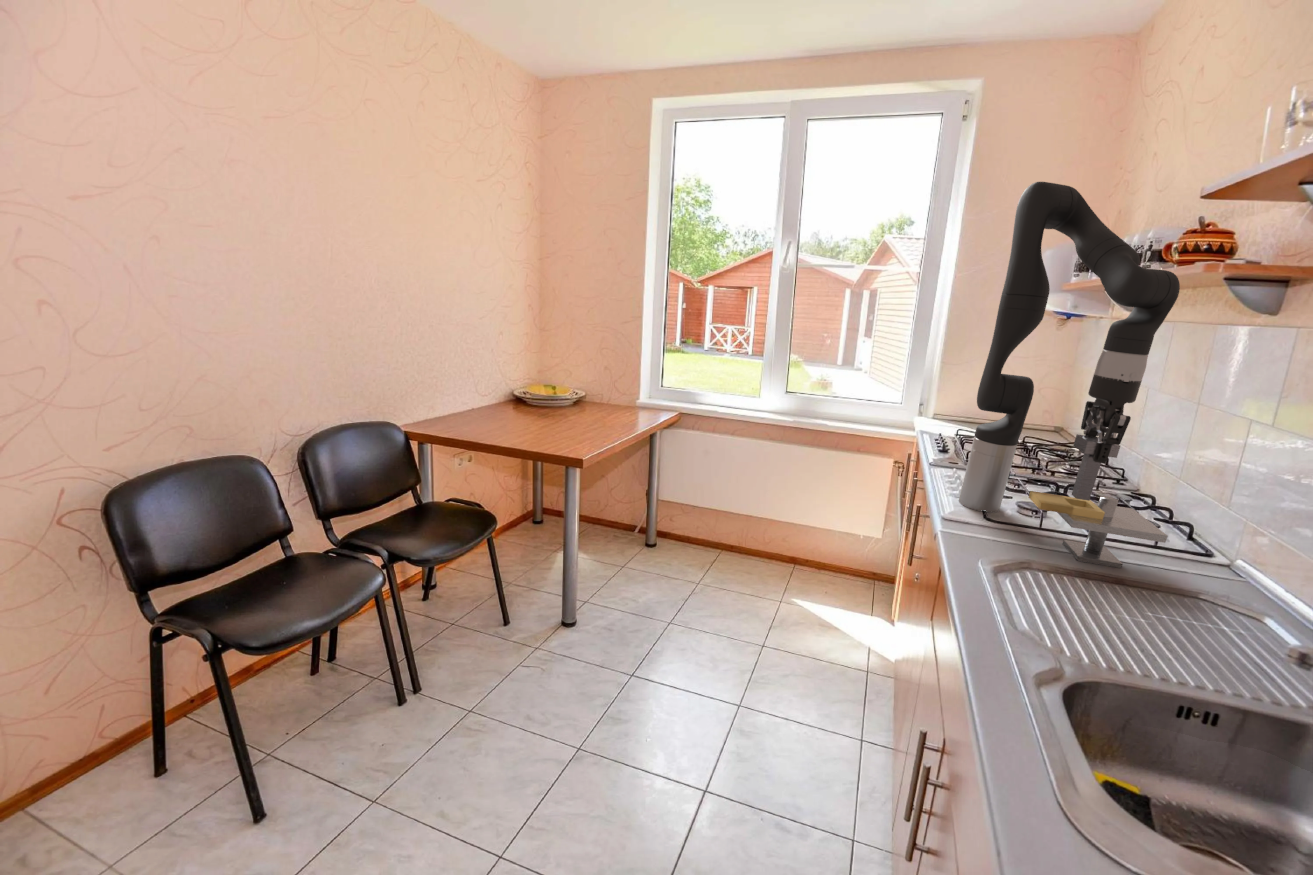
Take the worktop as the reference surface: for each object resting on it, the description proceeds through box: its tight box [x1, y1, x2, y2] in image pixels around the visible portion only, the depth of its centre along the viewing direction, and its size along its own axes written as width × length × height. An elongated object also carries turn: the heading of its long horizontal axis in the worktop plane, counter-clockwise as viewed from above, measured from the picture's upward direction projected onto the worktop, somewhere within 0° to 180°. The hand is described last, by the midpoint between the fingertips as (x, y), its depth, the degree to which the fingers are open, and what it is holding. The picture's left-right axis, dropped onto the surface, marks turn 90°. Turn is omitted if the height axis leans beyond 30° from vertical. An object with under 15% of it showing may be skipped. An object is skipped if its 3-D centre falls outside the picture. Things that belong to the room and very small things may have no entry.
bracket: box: [1028, 490, 1105, 519], centre depth 122 cm, size 11×7×2 cm, turn 75°
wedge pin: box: [1071, 434, 1121, 500], centre depth 119 cm, size 6×6×12 cm
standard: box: [1056, 495, 1169, 569], centre depth 121 cm, size 16×14×13 cm
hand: (1092, 457), depth 118 cm, fingers closed on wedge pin, 5 cm apart
